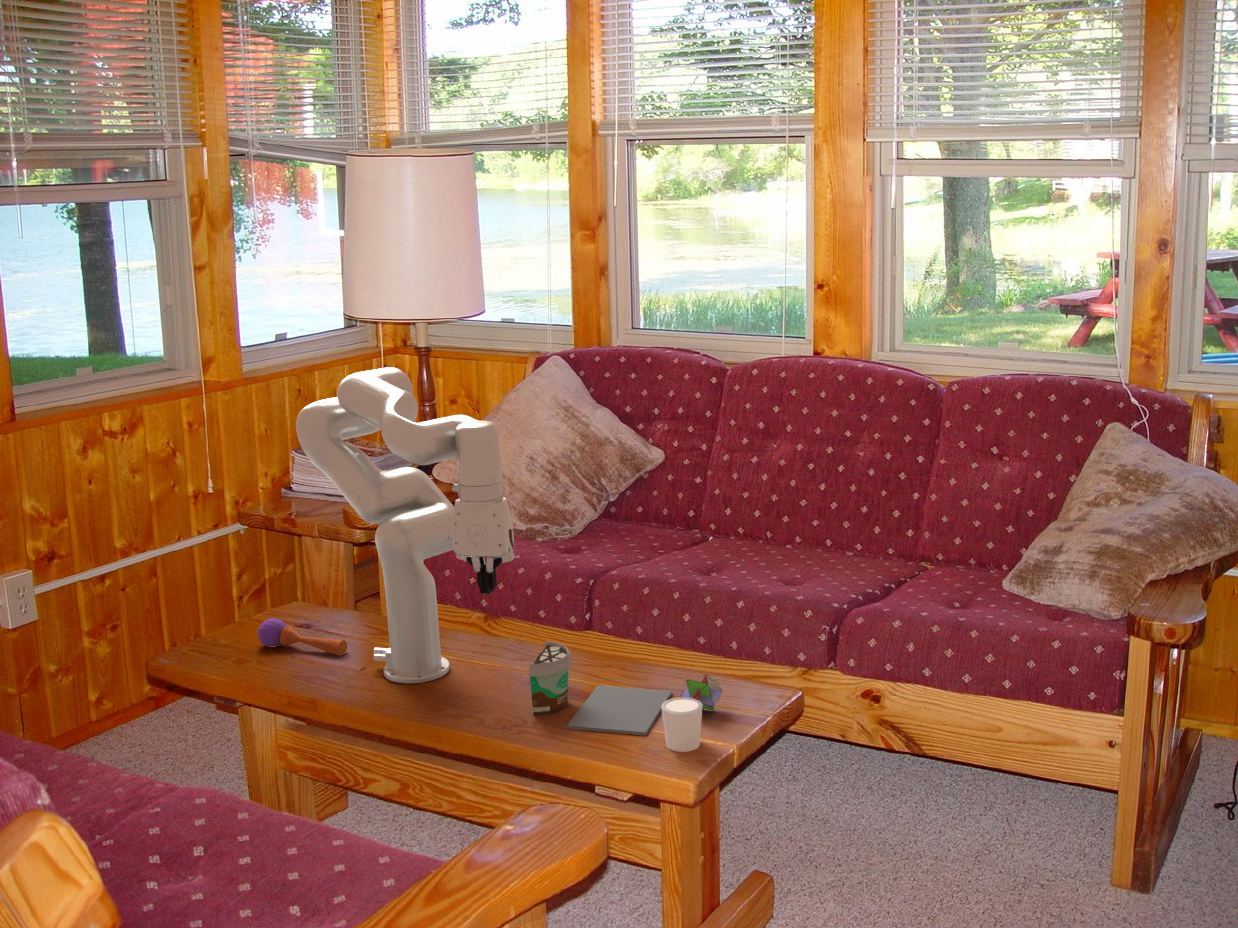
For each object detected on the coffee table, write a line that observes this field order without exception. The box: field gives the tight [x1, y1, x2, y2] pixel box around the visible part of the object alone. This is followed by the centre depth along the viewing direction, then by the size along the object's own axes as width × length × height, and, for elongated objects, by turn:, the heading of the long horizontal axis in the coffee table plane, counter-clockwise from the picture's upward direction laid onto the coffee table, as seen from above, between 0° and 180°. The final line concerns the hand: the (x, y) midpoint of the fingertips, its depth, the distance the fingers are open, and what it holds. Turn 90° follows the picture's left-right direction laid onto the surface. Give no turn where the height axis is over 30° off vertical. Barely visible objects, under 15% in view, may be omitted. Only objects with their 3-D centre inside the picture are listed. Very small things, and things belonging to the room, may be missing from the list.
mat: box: [566, 684, 673, 737], centre depth 234 cm, size 14×18×1 cm
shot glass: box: [661, 697, 703, 753], centre depth 219 cm, size 7×7×7 cm
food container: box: [528, 640, 573, 717], centre depth 237 cm, size 12×6×10 cm, turn 168°
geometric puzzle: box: [679, 673, 724, 715], centre depth 232 cm, size 7×7×8 cm
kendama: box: [257, 617, 348, 656], centre depth 271 cm, size 6×6×20 cm
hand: (487, 591), depth 236 cm, fingers closed
